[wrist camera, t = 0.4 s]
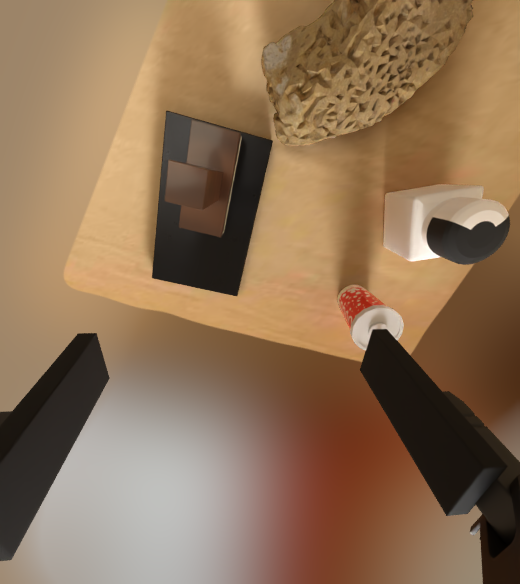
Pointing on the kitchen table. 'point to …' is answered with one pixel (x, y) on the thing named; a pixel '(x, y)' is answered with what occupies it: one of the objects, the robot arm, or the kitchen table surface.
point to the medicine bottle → (444, 223)
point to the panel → (199, 246)
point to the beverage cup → (367, 315)
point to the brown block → (204, 178)
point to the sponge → (357, 64)
